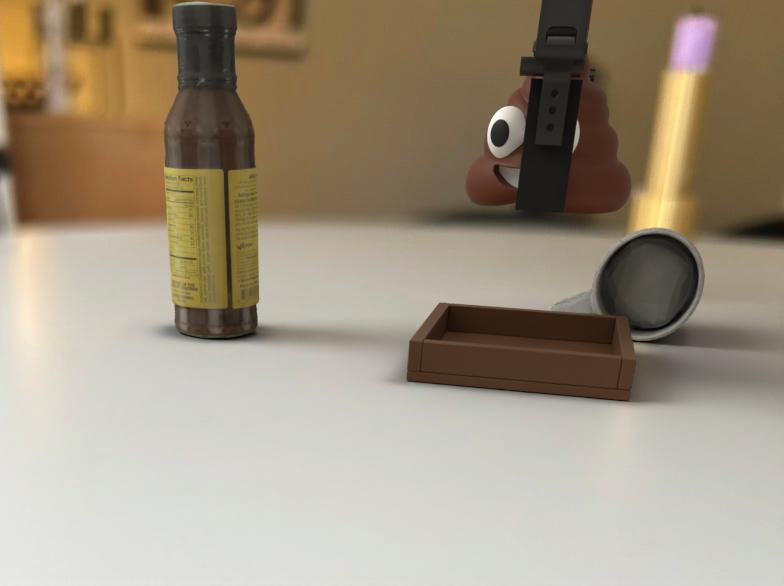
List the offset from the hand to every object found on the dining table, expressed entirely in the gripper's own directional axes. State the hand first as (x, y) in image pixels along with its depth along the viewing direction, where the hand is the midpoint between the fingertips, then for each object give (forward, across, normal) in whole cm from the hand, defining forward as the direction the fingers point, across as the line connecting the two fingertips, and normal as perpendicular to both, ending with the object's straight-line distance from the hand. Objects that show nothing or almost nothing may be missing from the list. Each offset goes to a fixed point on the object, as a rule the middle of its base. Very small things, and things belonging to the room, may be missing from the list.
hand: (542, 204), depth 61 cm
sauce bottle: (+10, -2, -22) cm, 24 cm away
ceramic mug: (+10, -15, +7) cm, 19 cm away
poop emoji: (0, 0, 0) cm, 0 cm away
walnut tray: (+10, 0, 0) cm, 10 cm away
